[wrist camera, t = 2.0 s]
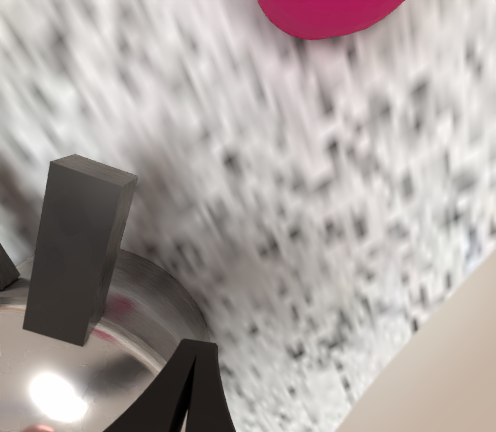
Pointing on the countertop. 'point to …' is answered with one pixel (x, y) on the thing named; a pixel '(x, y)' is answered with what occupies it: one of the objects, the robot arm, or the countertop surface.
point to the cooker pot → (131, 301)
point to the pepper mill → (326, 16)
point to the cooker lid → (73, 312)
